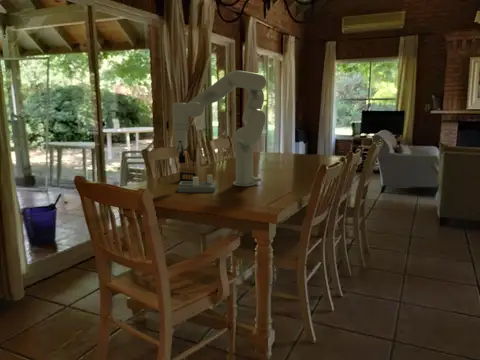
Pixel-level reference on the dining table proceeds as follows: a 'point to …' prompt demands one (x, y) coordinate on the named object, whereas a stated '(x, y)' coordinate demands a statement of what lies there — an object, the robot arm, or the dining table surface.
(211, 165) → the dining table surface
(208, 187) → the panel
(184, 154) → the lockout cap
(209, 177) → the switch tagged
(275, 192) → the dining table surface
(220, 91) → the robot arm
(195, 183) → the switch
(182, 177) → the ammunition clip
